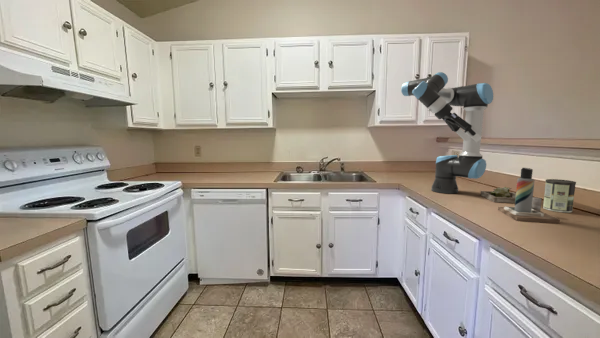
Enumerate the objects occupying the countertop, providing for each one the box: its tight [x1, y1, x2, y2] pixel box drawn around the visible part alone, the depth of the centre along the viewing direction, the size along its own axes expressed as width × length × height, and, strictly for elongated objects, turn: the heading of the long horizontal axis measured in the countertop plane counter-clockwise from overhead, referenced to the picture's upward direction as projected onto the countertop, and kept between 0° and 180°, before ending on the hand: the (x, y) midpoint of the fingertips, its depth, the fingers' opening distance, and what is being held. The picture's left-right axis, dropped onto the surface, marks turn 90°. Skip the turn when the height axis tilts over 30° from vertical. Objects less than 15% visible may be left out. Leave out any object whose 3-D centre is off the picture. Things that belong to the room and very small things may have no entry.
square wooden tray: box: [480, 190, 516, 204], centre depth 145 cm, size 17×17×2 cm
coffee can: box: [542, 178, 577, 214], centre depth 124 cm, size 10×10×14 cm
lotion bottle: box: [514, 167, 535, 213], centre depth 114 cm, size 6×6×20 cm
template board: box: [497, 196, 561, 224], centre depth 115 cm, size 16×15×8 cm
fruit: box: [491, 186, 511, 198], centre depth 147 cm, size 9×9×8 cm
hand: (473, 139), depth 123 cm, fingers open, 13 cm apart
